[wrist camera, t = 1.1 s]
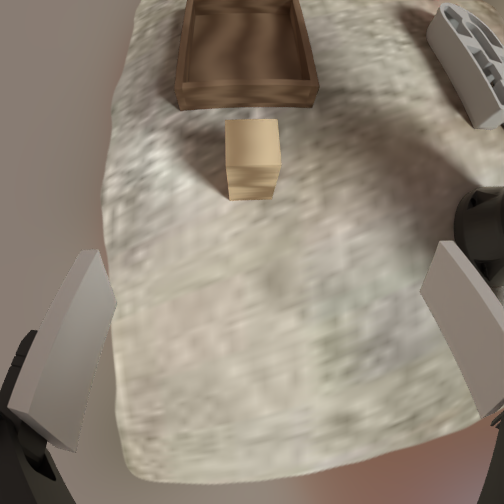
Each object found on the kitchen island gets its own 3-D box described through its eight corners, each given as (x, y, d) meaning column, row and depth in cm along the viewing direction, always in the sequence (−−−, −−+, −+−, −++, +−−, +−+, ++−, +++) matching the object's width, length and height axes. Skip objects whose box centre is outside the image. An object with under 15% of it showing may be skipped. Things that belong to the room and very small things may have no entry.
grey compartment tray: (472, 132, 41) (500, 109, 33) (410, 21, 45) (425, -5, 37) (519, 135, 42) (544, 118, 34) (462, 34, 46) (478, 13, 38)
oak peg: (269, 161, 38) (277, 119, 28) (271, 199, 37) (281, 164, 28) (228, 162, 38) (225, 120, 28) (229, 200, 37) (225, 166, 27)
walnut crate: (293, 15, 43) (297, -5, 38) (311, 107, 40) (319, 86, 35) (190, 17, 42) (187, -4, 37) (180, 110, 39) (174, 89, 34)
